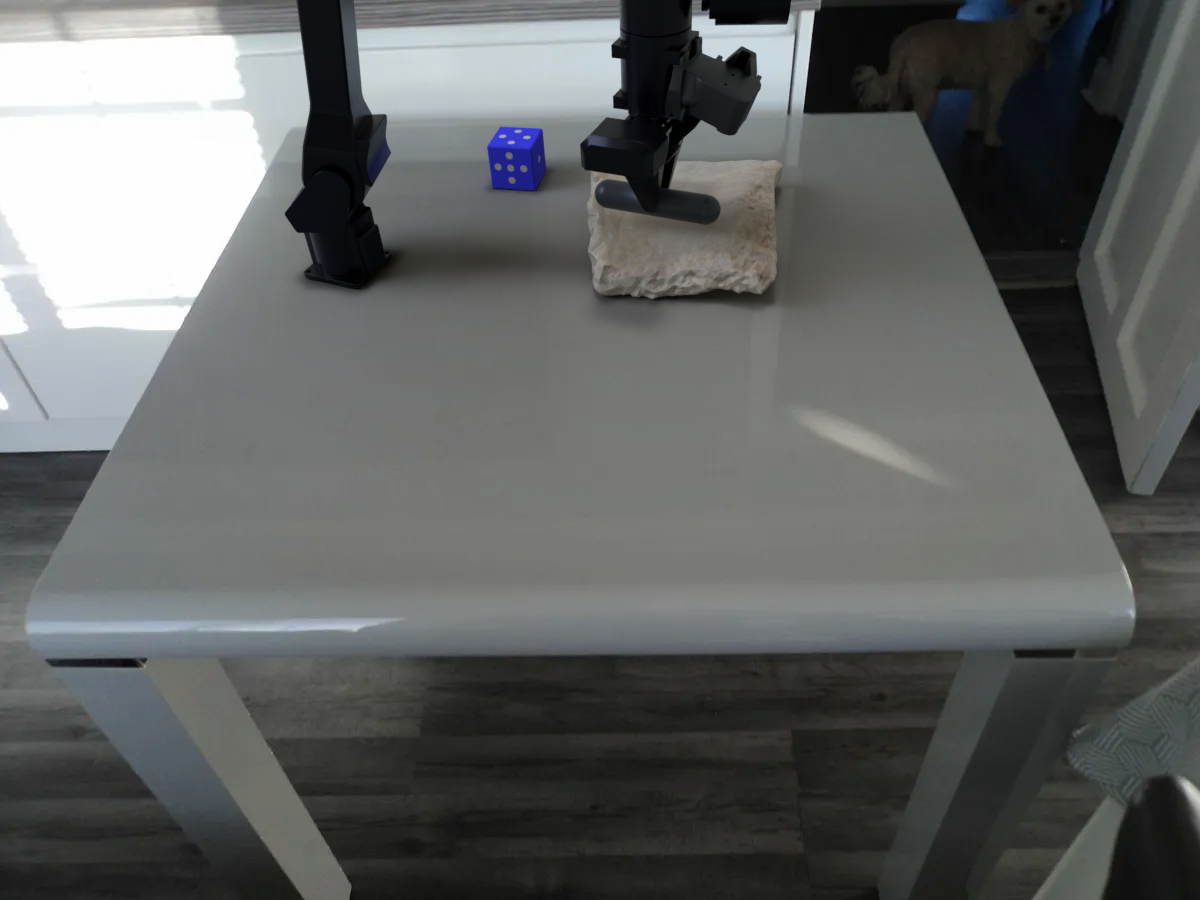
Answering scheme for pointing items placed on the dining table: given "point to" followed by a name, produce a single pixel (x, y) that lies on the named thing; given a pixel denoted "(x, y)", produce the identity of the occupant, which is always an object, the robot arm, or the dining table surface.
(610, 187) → the dark grey capsule
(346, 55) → the robot arm
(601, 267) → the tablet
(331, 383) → the dining table surface
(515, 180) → the die
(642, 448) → the dining table surface
